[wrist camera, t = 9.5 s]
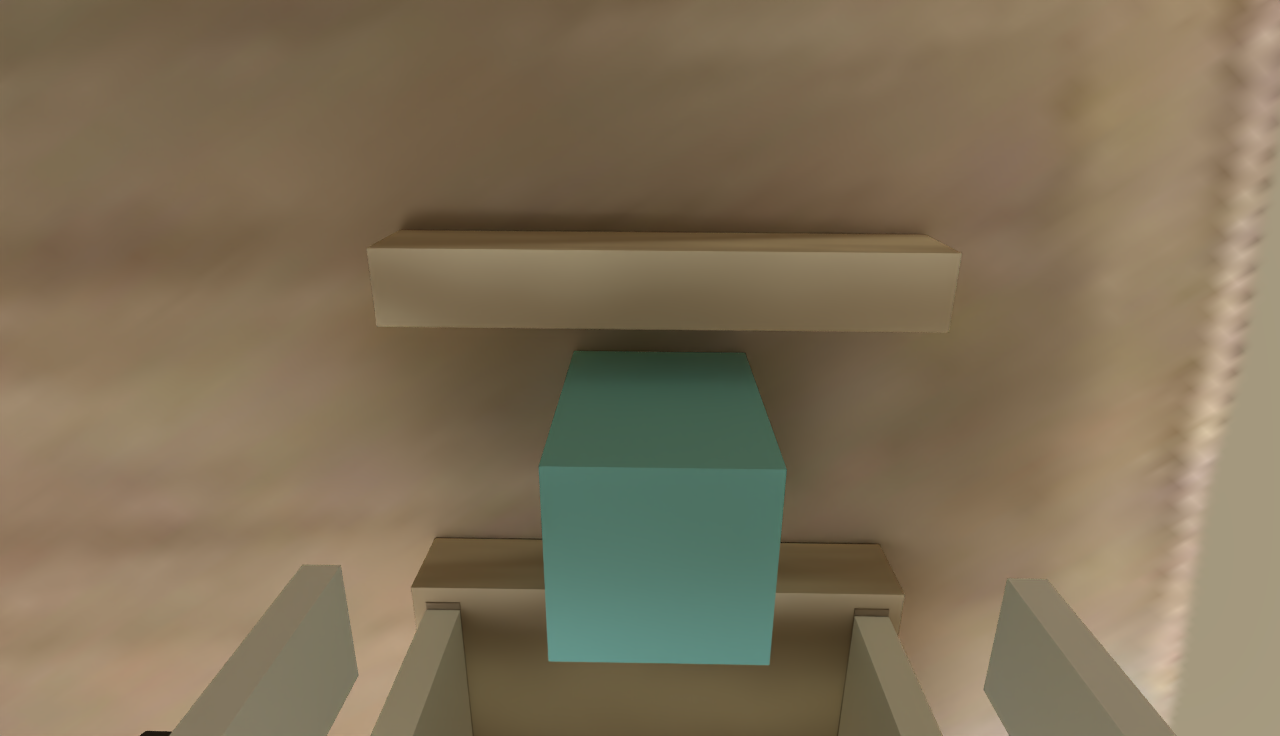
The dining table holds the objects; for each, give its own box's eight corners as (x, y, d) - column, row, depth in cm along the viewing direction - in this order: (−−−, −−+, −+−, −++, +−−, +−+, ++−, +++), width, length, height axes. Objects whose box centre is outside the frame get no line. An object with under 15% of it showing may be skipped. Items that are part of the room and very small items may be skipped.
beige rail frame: (400, 230, 20) (331, 266, 16) (925, 234, 20) (999, 272, 15) (469, 839, 28) (437, 968, 24) (834, 846, 28) (867, 978, 24)
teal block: (574, 350, 21) (539, 465, 14) (745, 352, 21) (786, 469, 14) (578, 498, 23) (548, 661, 16) (735, 501, 23) (769, 665, 16)
